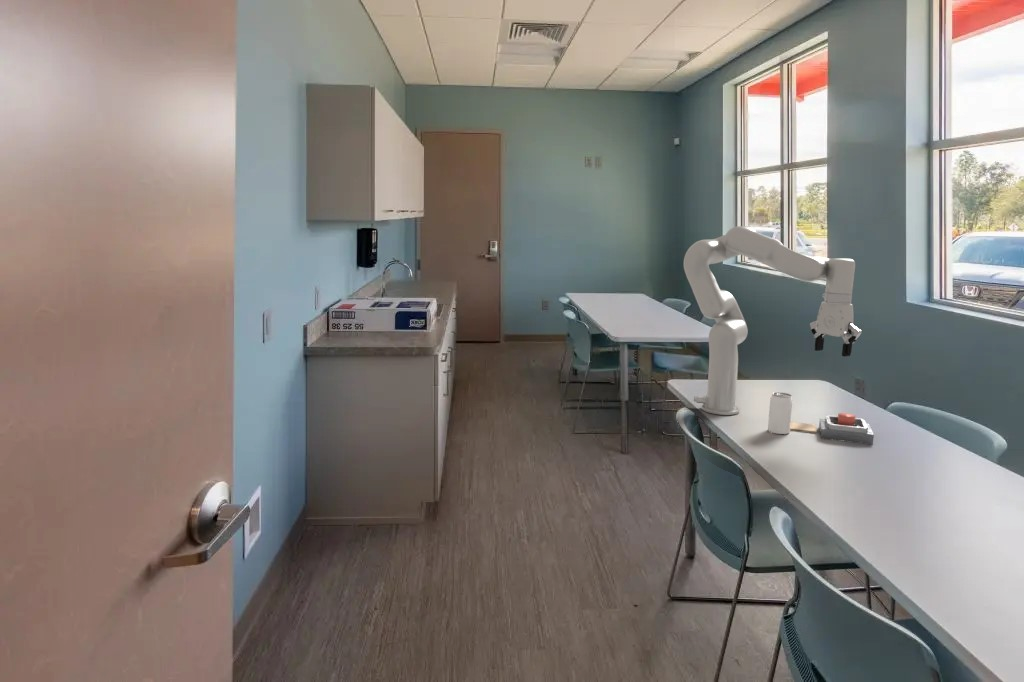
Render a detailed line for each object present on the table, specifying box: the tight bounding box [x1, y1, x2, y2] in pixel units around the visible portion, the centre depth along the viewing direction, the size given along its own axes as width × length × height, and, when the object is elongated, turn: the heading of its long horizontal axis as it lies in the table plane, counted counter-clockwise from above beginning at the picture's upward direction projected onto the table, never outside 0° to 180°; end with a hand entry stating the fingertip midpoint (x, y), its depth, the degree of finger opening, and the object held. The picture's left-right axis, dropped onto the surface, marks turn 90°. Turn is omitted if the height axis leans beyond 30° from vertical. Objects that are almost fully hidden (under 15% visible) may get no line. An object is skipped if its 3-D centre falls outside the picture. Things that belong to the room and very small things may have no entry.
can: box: [767, 392, 793, 435], centre depth 207 cm, size 6×6×12 cm
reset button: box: [837, 412, 857, 426], centre depth 204 cm, size 5×5×3 cm
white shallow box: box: [818, 414, 875, 445], centre depth 204 cm, size 14×12×4 cm
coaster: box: [790, 421, 818, 434], centre depth 212 cm, size 8×8×1 cm
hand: (832, 353), depth 208 cm, fingers open, 9 cm apart
